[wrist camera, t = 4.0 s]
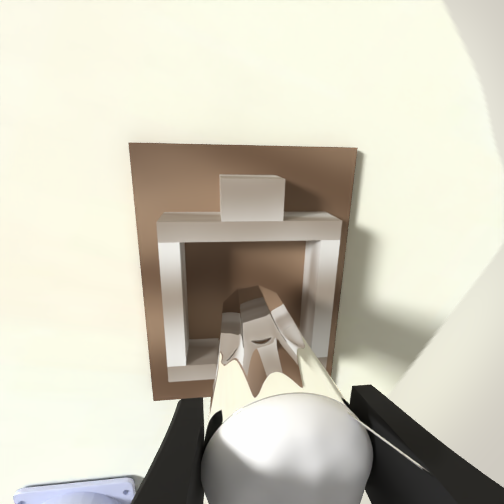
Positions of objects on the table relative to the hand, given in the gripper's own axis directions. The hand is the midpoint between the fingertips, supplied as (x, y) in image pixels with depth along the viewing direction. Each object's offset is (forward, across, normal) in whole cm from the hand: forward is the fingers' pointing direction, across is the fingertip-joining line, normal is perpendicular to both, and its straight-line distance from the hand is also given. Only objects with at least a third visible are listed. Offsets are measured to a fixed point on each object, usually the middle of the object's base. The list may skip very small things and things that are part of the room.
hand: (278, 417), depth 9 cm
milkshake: (+7, 0, 0) cm, 7 cm away
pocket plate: (+10, 0, 0) cm, 10 cm away
